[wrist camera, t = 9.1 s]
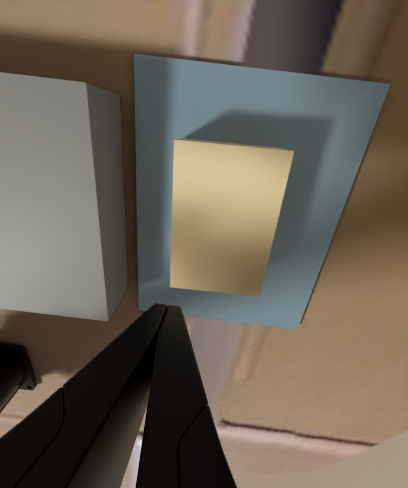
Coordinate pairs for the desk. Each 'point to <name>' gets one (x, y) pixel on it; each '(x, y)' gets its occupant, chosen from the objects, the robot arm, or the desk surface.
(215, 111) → the slate-blue mat
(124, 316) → the desk surface
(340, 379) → the desk surface
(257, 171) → the maple block
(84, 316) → the gray deck
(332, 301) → the desk surface
